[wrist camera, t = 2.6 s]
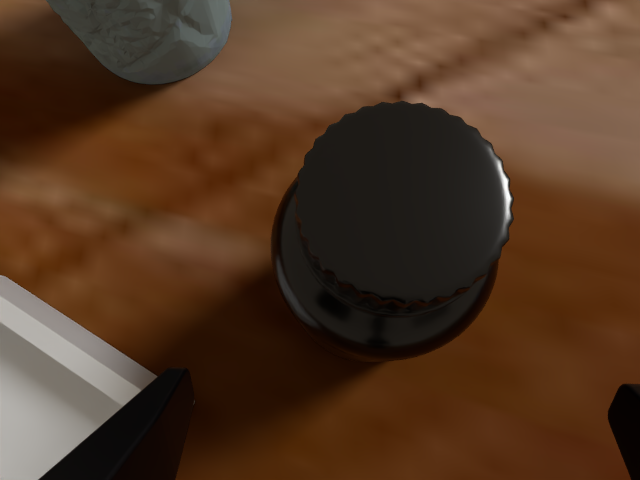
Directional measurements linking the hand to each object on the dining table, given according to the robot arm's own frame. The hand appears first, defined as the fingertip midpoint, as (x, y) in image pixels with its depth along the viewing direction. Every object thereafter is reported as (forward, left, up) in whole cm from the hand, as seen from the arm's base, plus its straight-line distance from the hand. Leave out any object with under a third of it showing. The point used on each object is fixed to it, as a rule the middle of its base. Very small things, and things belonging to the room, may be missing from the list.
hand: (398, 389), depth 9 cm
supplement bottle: (+4, +2, -11) cm, 12 cm away
